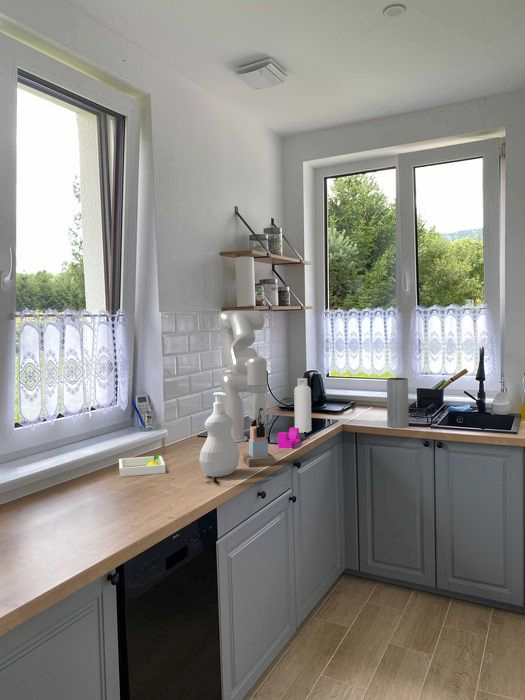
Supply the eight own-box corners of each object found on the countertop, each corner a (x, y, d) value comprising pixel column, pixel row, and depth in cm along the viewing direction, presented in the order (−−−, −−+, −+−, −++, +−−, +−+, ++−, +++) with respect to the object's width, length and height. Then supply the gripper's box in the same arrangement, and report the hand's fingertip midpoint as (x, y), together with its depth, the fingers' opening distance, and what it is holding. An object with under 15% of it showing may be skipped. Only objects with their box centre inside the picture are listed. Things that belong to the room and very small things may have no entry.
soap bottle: (215, 482, 189) (213, 395, 188) (191, 476, 196) (190, 394, 195) (247, 472, 202) (246, 391, 201) (224, 467, 209) (223, 389, 208)
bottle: (314, 435, 270) (313, 378, 269) (306, 438, 263) (305, 379, 262) (299, 434, 274) (298, 377, 274) (291, 437, 268) (290, 378, 267)
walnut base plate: (242, 461, 219) (242, 453, 218) (267, 459, 221) (267, 451, 221) (249, 467, 209) (249, 459, 209) (274, 465, 212) (274, 457, 212)
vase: (388, 435, 266) (387, 379, 266) (386, 432, 276) (386, 377, 275) (409, 436, 265) (409, 379, 264) (407, 432, 275) (407, 377, 274)
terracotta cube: (262, 438, 218) (262, 425, 218) (266, 440, 213) (265, 427, 213) (250, 439, 217) (249, 426, 216) (253, 441, 212) (253, 428, 212)
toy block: (291, 451, 236) (291, 434, 236) (278, 450, 239) (277, 433, 239) (304, 444, 250) (304, 428, 249) (291, 443, 252) (291, 427, 252)
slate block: (249, 454, 217) (248, 439, 217) (263, 453, 219) (263, 438, 219) (253, 457, 211) (252, 442, 211) (268, 456, 213) (267, 440, 213)
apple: (154, 482, 209) (156, 459, 207) (140, 479, 211) (141, 456, 210) (165, 476, 215) (166, 454, 214) (151, 473, 217) (152, 451, 216)
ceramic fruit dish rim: (119, 466, 213) (118, 458, 213) (161, 463, 218) (161, 455, 218) (120, 476, 198) (119, 468, 198) (165, 473, 202) (165, 464, 202)
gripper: (242, 387, 222) (243, 432, 222) (253, 392, 205) (254, 440, 205) (260, 387, 224) (261, 431, 224) (273, 391, 207) (273, 439, 207)
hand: (258, 435), depth 215 cm, fingers open, 6 cm apart
